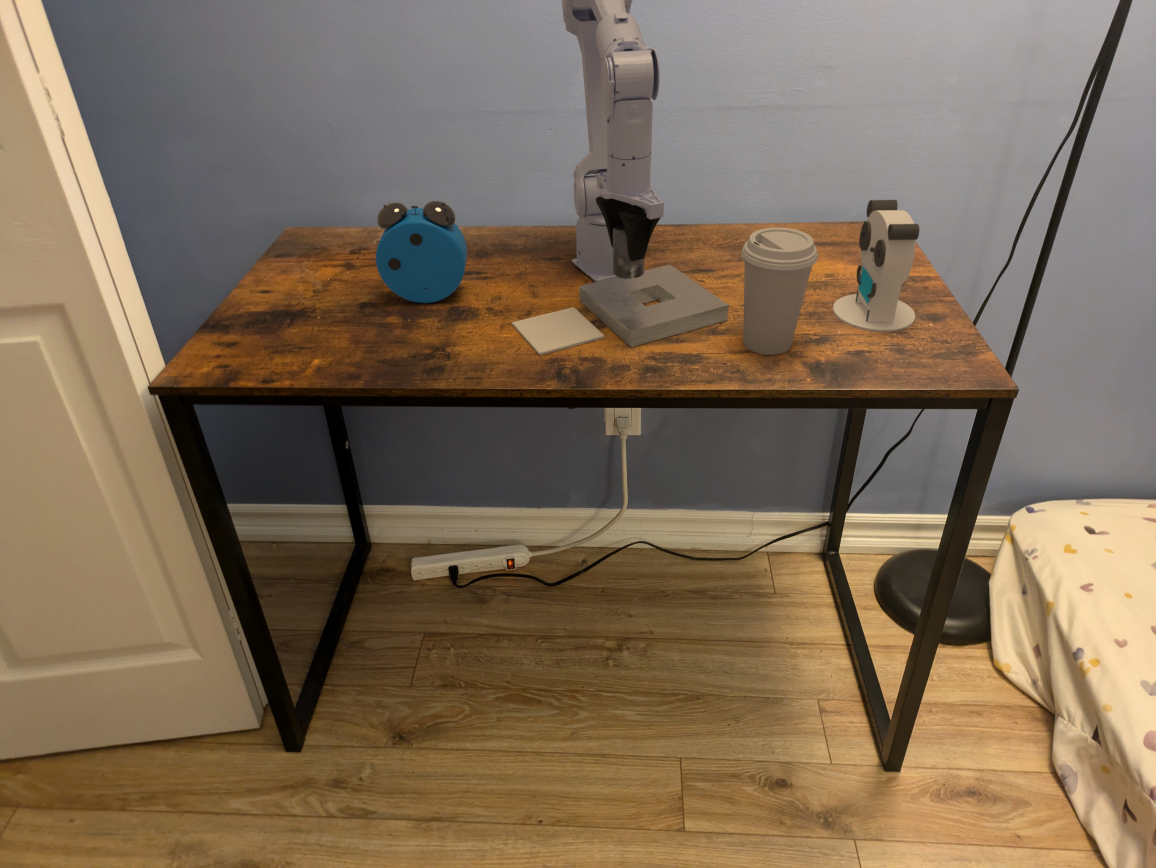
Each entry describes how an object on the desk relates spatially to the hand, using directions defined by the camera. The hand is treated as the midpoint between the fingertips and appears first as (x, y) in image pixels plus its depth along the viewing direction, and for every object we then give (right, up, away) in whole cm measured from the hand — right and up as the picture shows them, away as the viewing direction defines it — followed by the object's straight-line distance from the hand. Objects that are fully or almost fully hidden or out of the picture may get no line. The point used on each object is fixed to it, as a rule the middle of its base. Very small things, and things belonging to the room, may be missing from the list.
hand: (627, 252), depth 107 cm
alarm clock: (-30, -4, +13) cm, 33 cm away
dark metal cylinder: (0, -2, +2) cm, 3 cm away
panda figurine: (+36, -8, +5) cm, 37 cm away
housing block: (+4, -7, +7) cm, 11 cm away
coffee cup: (+19, -13, -1) cm, 23 cm away
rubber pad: (-10, -11, +3) cm, 15 cm away
